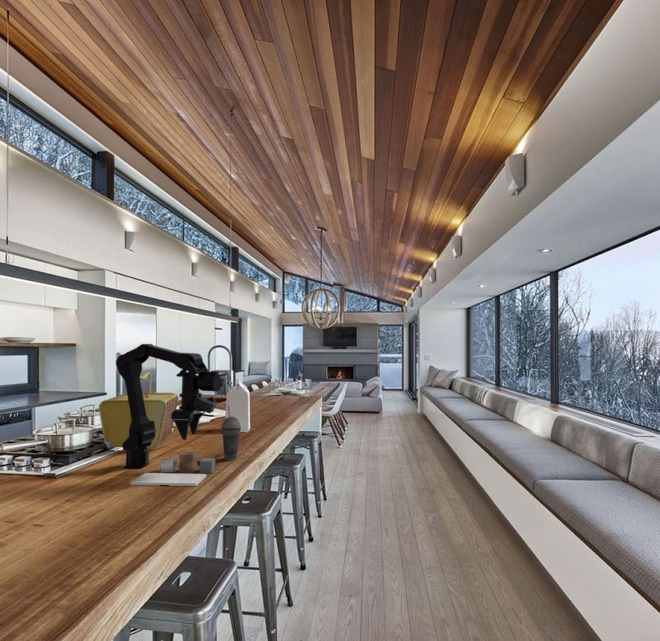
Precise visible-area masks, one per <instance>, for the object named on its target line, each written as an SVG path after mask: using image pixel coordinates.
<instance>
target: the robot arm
mask: <svg viewBox="0 0 660 641" xmlns="http://www.w3.org/2000/svg"><path fill="white" fill-rule="evenodd" d="M149 358H153V359H158V360H161V361H164V362H168V363H171V364H173V365H175V367H177V368H179V369H180V371H179V372H178V373H177V374H176V375H175V376H176V377H178V378H180V377H181V393H179V398H181V401H180V402H181V403H180V404H181V405H179V408H176V410H174V411H173V412H172V413H171V419H173V421H174V422H173V424H175V426H176V429H177V431H178V433H179V434H180V437H181V440H183V441H185V440H187V437H188V432H189V429H190V431H191V435H195V434H196V433H197V429H198V426H199V423H200V419H201V418H202V417H203V416H204V415H205V414H206V413H207V414H211V413H213V412H214V411H215V407H217V401H216V398H215V397H213V396H210V397H208V398H204V397H203V396H202V395H203V394H202V392H216V393H217V392H219V391H220V390H221V388H222V384H223V383H222V382H223V381H222V379H221V376H220V374H219V373H220V372H219V370H212V371H210V370H209V369H208V366H206V364H205V362H204V361H203V357H202V355H201V354H200V353H197V352H196V353H195V352H194V353H193V352H179V351H175V350H171V349H168V348H166V347H165V348H164V347H161V346H157V345H154V344H152V343H142V344H139V345H138V346H137V347H135V348H133V349H131V350H129V351H127V352H126V353H122V354H120V355H119V356H117V359H116V360H115V366H116V368H117V371H118V374H119V375H120V376H121V378H122V379H123V381H124V383H125V390H126V393H127V396H128V402H129V408H130V413H131V419H132V421H131V424H130V427H129V437H128V438H127V439H126V441H125V442H124V443H123V444H122V447H123V450H126V451H125V465H124V466H122V467H123V468H124V469H142V468H144V467H146V466H148V465H149V464H150V460H149V459H150V452H149V450H148V446H151V443H152V440H153V439H154V437H155V432H156V429H155V422H154V421H150V420H149V419H148V418H147V416H146V410H145V405H144V399H143V394H142V393H143V390H142V385H141V380H140V376H141V374H142V371H143V364H144V363H145V362H147V361H148V359H149ZM200 391H202V392H200Z"/></svg>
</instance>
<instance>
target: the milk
mask: <svg viewBox="0 0 660 641" xmlns="http://www.w3.org/2000/svg"><path fill="white" fill-rule="evenodd" d="M250 394H251V393H250V391H249V389H248V387H247V386H246V385H245V384H243V383H242V381H241V377H236V384H235V385H234V386H233V387H232V388H231V389H230V390H229V391H228V392H227V393H226V400H225V418H224V420H225V419H226V418H228V417H229V411H228V405H229V407H230V417H235V418H237V419H238V420H239V422H240V425H241V429H240V432H246V433H249V432H250V430H251V404H250V401H251V400H250V398H251V397H250ZM249 429H250V430H249ZM248 431H249V432H248Z"/></svg>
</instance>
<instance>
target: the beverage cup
mask: <svg viewBox="0 0 660 641" xmlns="http://www.w3.org/2000/svg"><path fill="white" fill-rule="evenodd" d="M228 411H229V417H228V418H226V419H225V418H224V420H223V421H222V424H221V428H220V429H221V433H222V445H223V456H224V458H223V459H226V460H225V461H229V460H230V461H234V460H233V459H236V458H238V453H239V451H238V450H239V442H240V434H241V433H240V429H241V425H240V422H239V420H238V419H237V418H235V417H230V407H229V405H228ZM236 460H237V459H236Z"/></svg>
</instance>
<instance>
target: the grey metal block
mask: <svg viewBox="0 0 660 641" xmlns="http://www.w3.org/2000/svg"><path fill="white" fill-rule="evenodd" d="M160 462H161V464H160V473H164V472H173V473H174V472H176V471H177V470H178V457H165V458H163V459H162V460H161V461H160Z"/></svg>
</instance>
